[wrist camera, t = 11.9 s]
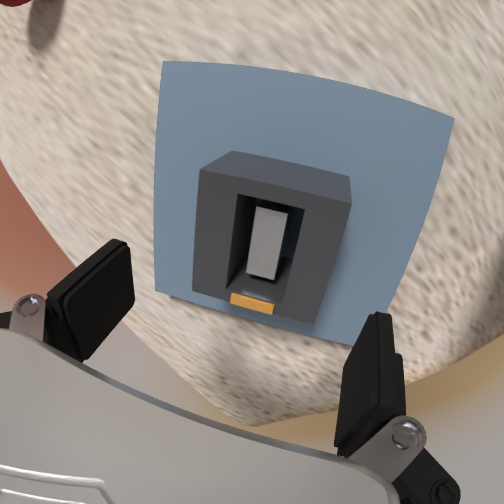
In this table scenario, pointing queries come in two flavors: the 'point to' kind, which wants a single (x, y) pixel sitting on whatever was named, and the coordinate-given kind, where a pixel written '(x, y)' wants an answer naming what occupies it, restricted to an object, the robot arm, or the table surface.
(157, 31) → the table surface
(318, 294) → the hollow gray block
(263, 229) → the block
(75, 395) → the robot arm
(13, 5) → the onion
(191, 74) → the base board
